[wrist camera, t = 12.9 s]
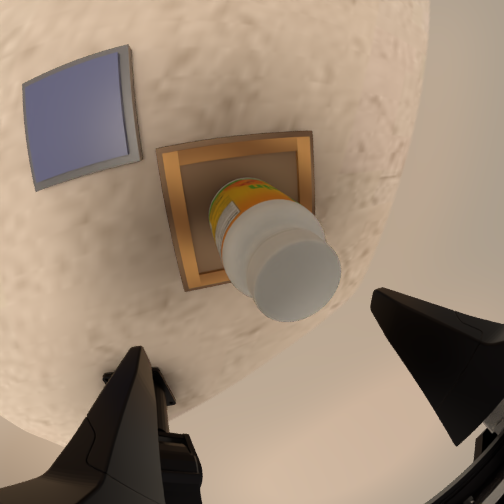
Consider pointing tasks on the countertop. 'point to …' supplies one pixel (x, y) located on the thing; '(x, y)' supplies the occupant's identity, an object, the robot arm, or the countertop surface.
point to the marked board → (218, 175)
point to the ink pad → (81, 118)
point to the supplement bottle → (273, 249)
